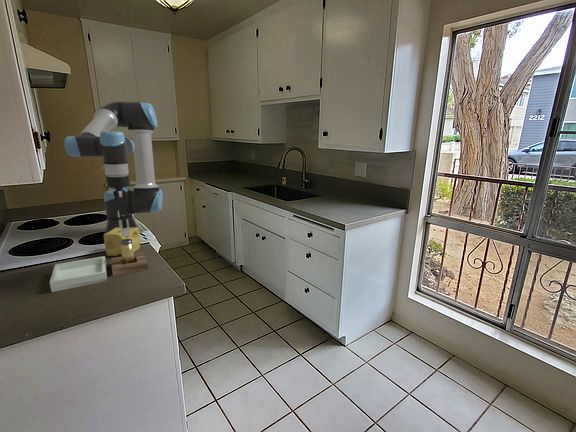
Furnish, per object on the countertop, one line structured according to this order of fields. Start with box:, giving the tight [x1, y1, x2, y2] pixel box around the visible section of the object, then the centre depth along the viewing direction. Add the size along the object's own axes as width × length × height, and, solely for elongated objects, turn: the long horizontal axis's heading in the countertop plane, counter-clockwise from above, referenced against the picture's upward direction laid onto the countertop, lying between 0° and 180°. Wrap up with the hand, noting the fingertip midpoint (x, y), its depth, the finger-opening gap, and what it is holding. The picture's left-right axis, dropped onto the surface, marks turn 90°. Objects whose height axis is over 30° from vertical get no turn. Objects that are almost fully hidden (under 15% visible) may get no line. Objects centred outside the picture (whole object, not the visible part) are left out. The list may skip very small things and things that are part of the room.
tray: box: [49, 255, 108, 293], centre depth 112 cm, size 16×16×4 cm
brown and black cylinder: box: [120, 239, 135, 264], centre depth 119 cm, size 4×4×11 cm
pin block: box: [110, 252, 149, 277], centre depth 120 cm, size 12×12×2 cm
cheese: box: [103, 226, 141, 257], centre depth 134 cm, size 10×11×10 cm
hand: (124, 231), depth 116 cm, fingers open, 13 cm apart
